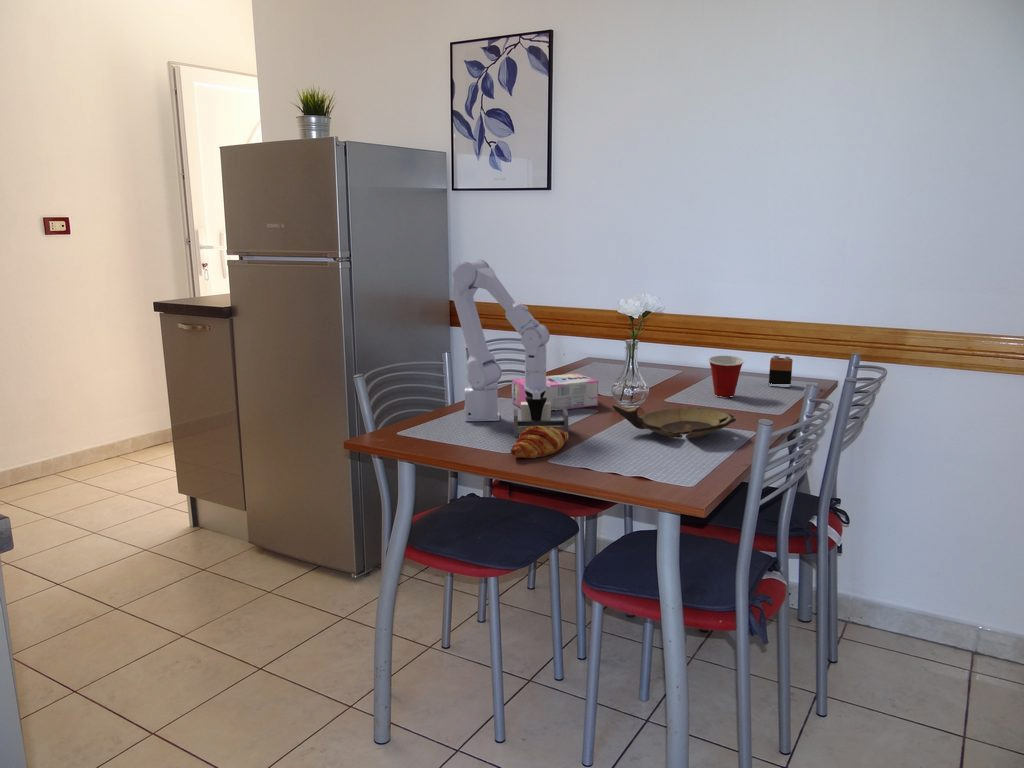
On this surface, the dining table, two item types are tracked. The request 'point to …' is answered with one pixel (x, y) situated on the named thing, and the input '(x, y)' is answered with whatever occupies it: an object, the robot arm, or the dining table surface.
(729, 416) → the oil lamp
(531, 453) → the croissant
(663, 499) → the dining table surface
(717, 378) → the plastic cup
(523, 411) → the cream rectangular block
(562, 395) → the gum box
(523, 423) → the grey metal bracket
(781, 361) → the battery
